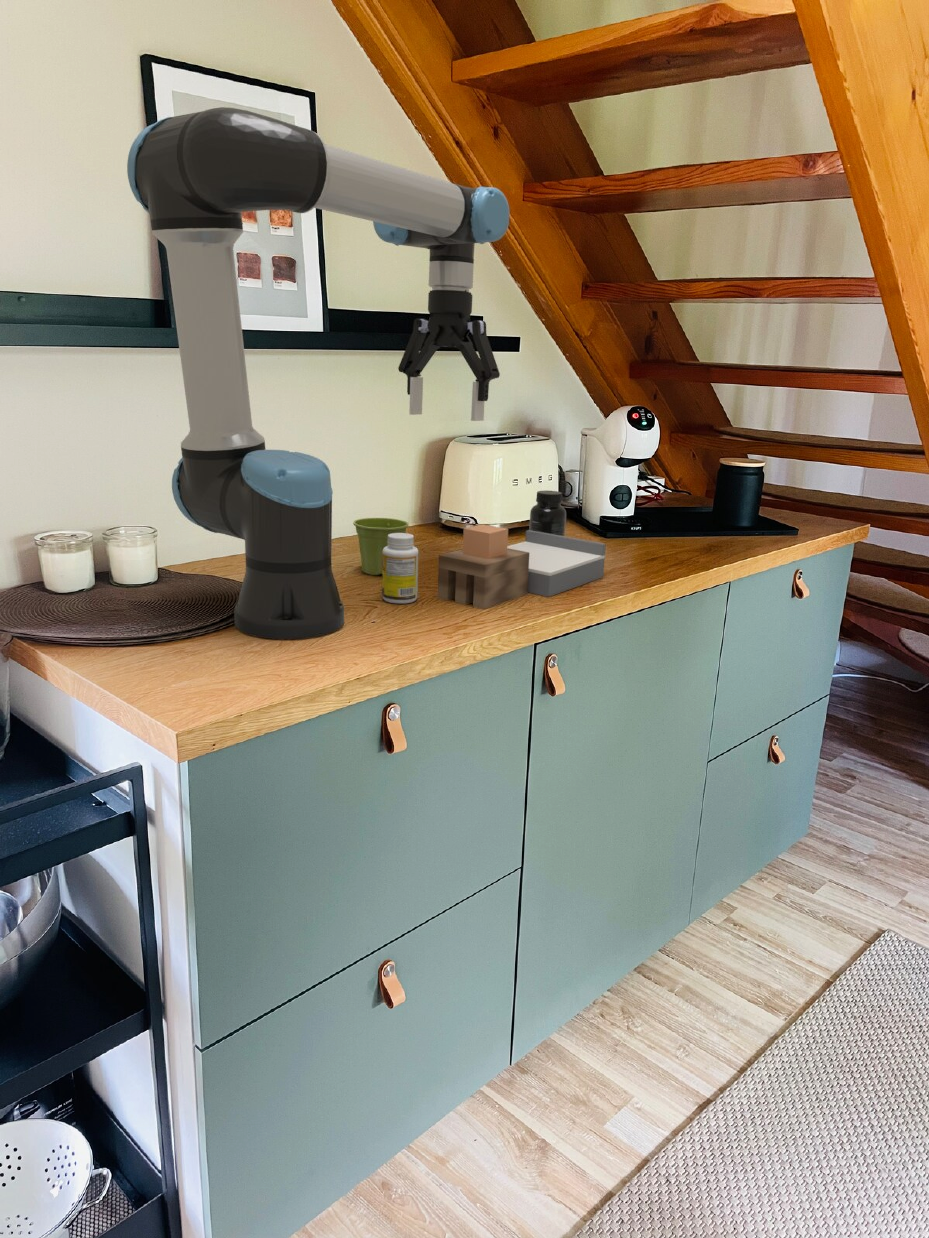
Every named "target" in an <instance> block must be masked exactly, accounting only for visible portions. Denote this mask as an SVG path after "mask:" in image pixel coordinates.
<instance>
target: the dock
mask: <svg viewBox="0 0 929 1238" xmlns="http://www.w3.org/2000/svg"><path fill="white" fill-rule="evenodd" d="M606 547H607V544H606V543H603V542H599V541H598V542H597V541H592V540H588V539H582V538H576V537H570V536H566V535H565V536H560V535H554V534H549V533H543V532H537V531H532V530H529V529H528V530H525V541H522V542H521V541H520V542H518V543H515V544H510V545H507V548H509V549H514V550H519V551H524V552H529V570H528V586H527V593H528V594H533V595H537V596H538V595H539V596H541V597H545V598H546V597H547V598H550V597H553V596H555V595H558V594H561V593H563V592H566V591H569V590H571V589H574V588H577V587H580V586H583V585H586V584H589V583H591V582H594V581H596V580H599V579H602V578H604V571H605V559H606Z"/></svg>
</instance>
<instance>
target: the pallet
mask: <svg viewBox="0 0 929 1238" xmlns="http://www.w3.org/2000/svg"><path fill="white" fill-rule="evenodd" d="M437 562H438V566H437V568H438V569H437V570H438V571H437V599H439V600H445V601H450V600H454V603H456V604H460V605H464V606H466V605H469V604H472V608H476V609H480V610H487V609H489V608H491V607H494V606H497V605H500V604H503V603H507V602H509V601H513V600H515V599H518V598H521V597H524V596H526V595H528V592H527V586H528V570H529V552H524V551H519V550H514V549H509V548H507V554H505V555H501V556H498V557H494V558H490V559H486V558H481V557H477V556H472V555H467V554H463V548H461V549H457V550H453V551H449V552H446V553H441V554H439V555H438V561H437Z"/></svg>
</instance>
